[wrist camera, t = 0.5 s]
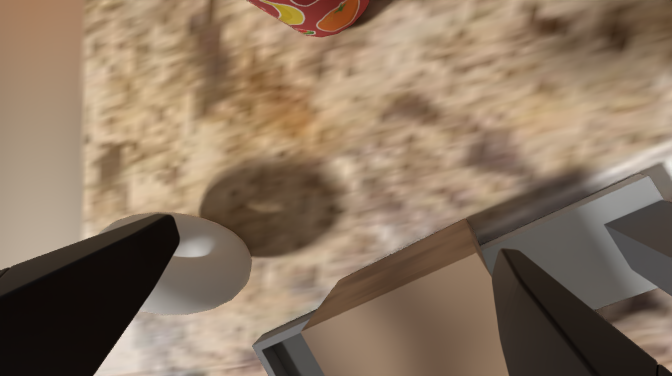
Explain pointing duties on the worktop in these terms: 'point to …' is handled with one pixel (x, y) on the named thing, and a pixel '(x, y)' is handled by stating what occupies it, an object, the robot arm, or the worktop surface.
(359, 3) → the smoothie
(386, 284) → the tunnel
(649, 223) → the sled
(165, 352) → the worktop surface
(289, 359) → the pit
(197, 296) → the donut
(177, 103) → the worktop surface
